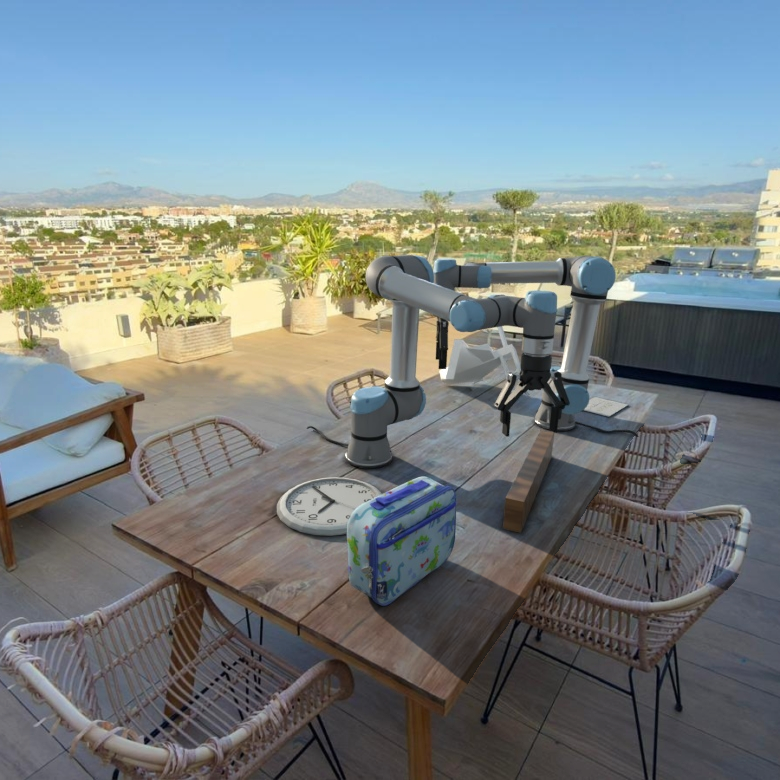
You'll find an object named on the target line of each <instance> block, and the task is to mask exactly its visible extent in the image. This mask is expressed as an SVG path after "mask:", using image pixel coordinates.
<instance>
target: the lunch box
mask: <svg viewBox="0 0 780 780" xmlns="http://www.w3.org/2000/svg"><path fill="white" fill-rule="evenodd" d="M456 524H457V494H456V490H455V488H454V487H453V486H451V485H444V484H441V483H440V482H438V481H436V480H434V479H432V478H431V477H428V476H422V475H421V476H419V477H416V478H413V479H411V480H408V481H407V482H404V483H402V484H400V485H398V486H396V487H394V488H392V489H390V490H388V491H386V492H383V494H381V495H380V496H378V497H376V498H374V499H372V500H370V501H368V502H365V503H363V504H362V505H360V506H358V507H357V508H356V509H355V510H354V511H353V513H352V514H351V516H350V518H349V521H348V525H347V534H346V545H347V546H346V548H347V570H348V572H347V573H348V581H349V583H350V585H351V587H353V588H354V589H356V590H358V591H361V592H362V593H364V594H365V595H366V596H368V597H369V598H371V599H372V601H373V602H374V603H375V604H378V605H379V606H383V607H386V606H388V605H390V604H392V603H394V601H396V600H397V599H398V598H399V597H400V596H402V595H403V594H404V593H406V592H407V591H408V590H410V589H411V588H413V587H414V586H415V585H417V584H418V583H419V582H421V580H422V579H424V577H426V576H427V575H430V573H432V572H434V571H435V570H436V569H438V568H440V567H441V566H442V565H444V563H446V562H447V561H448V559H449V558H450V556H451V554H452V552H453V549H454V546H455V542H456V529H457V525H456Z"/></svg>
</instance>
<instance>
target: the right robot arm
mask: <svg viewBox="0 0 780 780" xmlns="http://www.w3.org/2000/svg"><path fill="white" fill-rule="evenodd" d="M457 263H458V262H457V260H456V259H455V258H437V259H435V260H434V263H433V273H434V283H433V284H436V285H439V286H442V287H444V288H447V289H450V290H453V291H456V288H458V289H460V288H462V289H489V288H490V286H491V284H492V285H493V284H495V285H496V284H497V285H499V284H500V285H501V284H555V285H557V286H558V287H560V286H564V287H571V289H570V294H569V296H570V297H571V299H572V301H573V304H572V309H571V312H570V313H571V314H570V317H569V318H570V319H569V324H568V329H567V334H566V339H565V344H564V349H563V355H562V359H561V364H560V366H554V365H553V366H551V369H550V372H553V370H557V371H559V372H561V374H562V383H563V385H564V388H565V391H566V394H567V396H568V399H569V402H570V404H569V405H568V406H567V405H566V406H565V408H564V409H562V414H561V419H558V428H557V432H567V431H572V430H574V429H575V428H576V425H577V426H578V425H579V426H581V427H585V428H588V429H592V430H595V431H597V432H601V433H604V434H614V433H629V434H632V435H633V436H634V437H636V438H639V437H640V436H639V435H638V434H637V432H635V431H634V430H629V429H611V430H606V429H601V428H599V427H596V426H593V425H589V424H586V423H582V422H579V421H576V418H575V417H576V416H575V415H576V414H579V413H581V412H582V411H584V409H585V408H586V407H587V405H588V403H589V400H590V393H589V390H588V387H589V382H590V376H589V375H588V373H587V369H588V366H589V365H588V364H589V361H590V355H591V352H592V346H593V341H594V337H595V332H596V326H597V321H598V318H599V312H600V309H601V304H603V303H604V302H606V301H607V298H608V293H609V291H610V290H611V289H612V288H613V286H614V284H615V282H616V276H617V275H616V270H615V267H614V265H613V264H612V263H611V262H610V261H609V260H607V259H605V258H603V257H601V256H593V255H579V256H571V257H560V258H558V259H557V260H551V261H550V260H549V261H548V260H546V261H502V262H501V261H500V262H473V261H470V262H467V263H464V264H463V265H460V264H457ZM431 315H432V316H433V317H435V318H437V320H436V334H435V341H436V342H435V360H437V361H438V370H441V369H446V368H447V367H448V366H447V365H448V364H447V363H448V351H449V326H450V323H449V322H450V321H448V320H445V319H443V318H440V317H438V316H435V315H433V314H431ZM547 383H548V384H549V386H550V387H551V389H552V390H553V392H554V393H555V394H556V396H557V397H558V399H559V400H560V398H559V395H558V393H557V390H556V387H555V385H554V382H553V379H551V378H550V379H549V381H548V382H547ZM552 406H555V405H554V403H553V402H552V401H551V399H550V398H549V397H548V395H547V394H546V392H545V391H544V390H543V389H542V394H541V402H540V405H539V407H538V409H537V410H536V413H535V416H534V424H535V425H536V426H537V427H539V428H542V429H544V430H549V431H551V430H550V429H549V426H550V417H551V407H552Z"/></svg>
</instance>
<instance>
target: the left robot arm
mask: <svg viewBox="0 0 780 780" xmlns="http://www.w3.org/2000/svg"><path fill="white" fill-rule="evenodd" d="M365 283H366V286H367V287H368V289H369V291H370V292H371V293H373V294H374V295H375V296H377V297H380V298H382V299H385V300H388V301H389V302H390V303H391V305H392V310H391V311H392V313H391V333H390V335H391V336H390V359H389V361H390V362H389V376H388V377H387V378H385V379H384V387H382V386H377V385H376V386H375V385H372V386H365V387H361V388H358V389H357V390H355V391H354V393H352V395H351V399H350V408H349V409H350V439H349V442H348V443H344V442H340V441H337V440H333V439H331V438H328V437H327V436H325V434H323V432H322V431H321V430H319V429H318V428H316V427H315V426H313V425H308V426H307V427H306V429H307V430H308V429H312V430H314V431H315V432H317V433H319V434H320V435H321V437H322V438H323V439H325V441H328V442H330V443H332V444H333V443H334V444H337V445H339V446H340V445H341V446H344V447H345V446H346V447H347V449H346V451H345V461H346V462H347V464H349V465H350V466H353V467H355V468H359V469H379V468H382V467H386V466H387V465H389V464H391V463H392V461H393V451H392V448H391V445H390V441H389V438H388V426H390V425H393V424H397V423H400V422H404V421H409V420H412V419H414V418H416V417H418V416H419V415H421V414H422V413H423V412H424V409H425V407H426V404H427V397H426V396H427V395H426V393H425V392H424V391H425V389H424V388H423V386H421V383H420V382H421V381H420V380H419V379H418V378H417V358H418V342H419V341H418V340H419V326H420V325H419V324H420V310H421V311H423V312H426V313H428V314H431V315H432V314H433V315H435V316H438V317H440V318H443V319H445V320H447V321H448V322H450V324H451V326H452V327H453V329H454V330H456V331H457V332H460V333H474V332H478V331H483V330H486V329H494V328H497V327H500V326H502V327H507V326H508V327H514V328H521V329H522V341H521V352H522V353H521V354H520V368H521V371H520V373H519V374H518V373H513V372H511V371H510V373H508V377H507V380H505V381H506V382H505V383H504V385H503V387H502V389H501V391H500V393H499V395H498V396H497V398H496V400H495V402H494V403H493V408H495V409H496V410H497V411H500V412H499V413H500V415H499V421H500V423H501V424H502V428H501V434H503V435H504V436H505V437H509V438H510V430H511V420H512V419H511V418H512V412H511V411H510V410H511V408H513V406H514V405H515V404H516V403H517V402H518V400H519V399H520V398H521V397H522V396H523V395H524V394H525V392H526V391H527V390H529V392H530V391H532V392H533V391H541V390H542V391H543V390H544V391H545V392H546V394H547V395H548V397H549V398H550V399H551V401H552V402H553V403H554V405H555V406H552V407H551V417H550V426H549V429H550V430H549V431H550V432H553V433H554V434H556V433H558V431H557V428H558V419H561V414H562V409H564V408H565V406H566V405H567V406H568V405H569V404H570V402H569V399H568V396H567V394H566V391H565V388H564V385H563V383H562V374H561V372H559V371H557V370H553V372H550V369H551V367H552V362H553V356H552V354H553V351H554V350H553V349H554V342H555V341H554V340H555V329H556V319H557V313H558V294H557V293H556V292H554V291H550V290H529V291H527V292H526V294H525V297H519V296H512V295H506V294H491V295H489V296H488V297H486V298H485V297H484V298H475V297H472V296H469V295H466V294H464V293H461V292H459V291H456V290H455V291H453V290H450V289H447V288H444V287H442V286H439V285H436V284H433V283H434V268H433V267H432V265H431V263H430V262H429V260H428V259H427V258H426V257H424V256H423V255H422V256H421V255H416V254H402V255H401V254H399V255H383V256H379V257H377V258H375V259H373V260H372V261H371V262H370V264H369V265H368V266H367V269H366V271H365ZM433 315H432V316H433ZM435 316H434V317H435ZM550 378H551V379H553V382H554V385H555V387H556V390H557V393H558V395H559V398H560V400H559V399H558V397H557V396H556V394H555V393H554V392H553V390H552V389H551V387H550V386H549V384H548V383H547V382H548V381H549V379H550ZM518 381H519V382H518ZM516 383H518V384H516ZM523 386H524V387H523ZM513 388H515V390H514V391H513V392H512V393H511V391H512V389H513Z"/></svg>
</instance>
